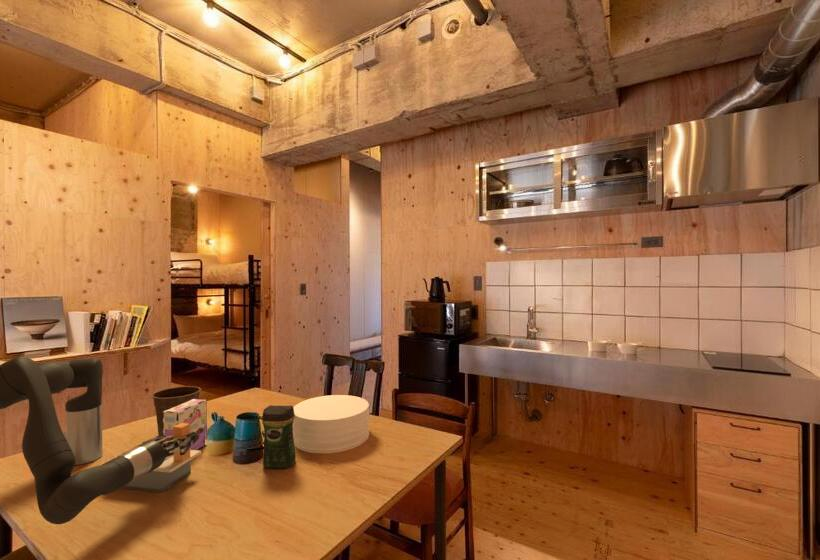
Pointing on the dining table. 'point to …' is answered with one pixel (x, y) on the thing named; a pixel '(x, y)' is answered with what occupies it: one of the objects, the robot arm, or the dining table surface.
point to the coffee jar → (278, 436)
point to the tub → (159, 479)
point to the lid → (176, 458)
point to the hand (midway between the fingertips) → (189, 434)
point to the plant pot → (172, 401)
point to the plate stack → (330, 423)
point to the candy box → (188, 420)
